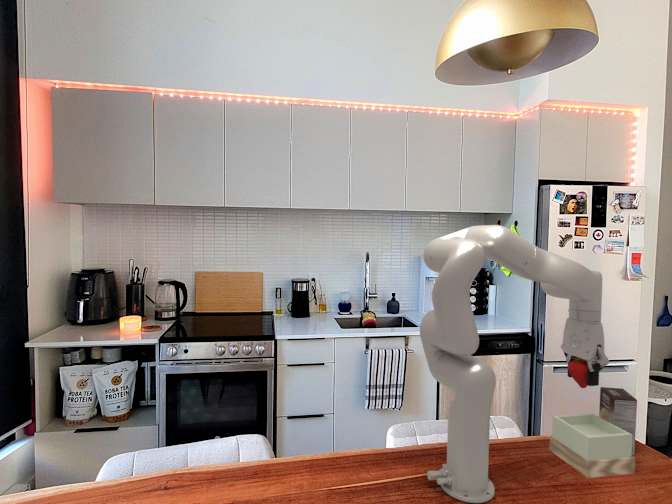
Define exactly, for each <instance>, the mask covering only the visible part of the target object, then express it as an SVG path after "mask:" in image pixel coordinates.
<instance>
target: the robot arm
mask: <svg viewBox="0 0 672 504" xmlns="http://www.w3.org/2000/svg"><path fill="white" fill-rule="evenodd" d="M422 258H423V262H424V264H425V266H426V267H427V268H428V269H429V270H431V271H432V272H435V273H439V274H438V275H437V277H436V279H435V281H434V283H433V286H432V290H431V302H432V308H433V309H432V310H429V311H427V312H426V313H425V314H424V315H423V317H422V319H421V322H420V325H419V336H420V340H421V345H422V348H423V352H424V355H425V356H424V357H425V358H426V362H427V367H428V369H429V371H430V374H431V376H432V377H433V379H434V380H435V381H437V382H438V383H440V384H441V385H443V386H445V387H446V388H448V389H450V390H451V391H453V392H454V397H453V400H451V402H450V405H449V407H448V411H447V412H448V413H447V415H448V416H447V442H446V443H447V445H446V463H442V468H439V470H428V471H427V473H426V474H427V475H426V476H427V479H428V481H434V480H436V483H437V485H440V487H441V489H442V490H443V491H444V493H446V494H447V495H449V496H450V497H451V498H454V499H456V500H458V501H461V502H465V503H471V504H482V503H486V502H488V501H490V500H492V499H493V498H494V497H495V491H496V490H495V485H494V483H493V482H492V480H491V479H490V478H489V452H490V451H489V450H490V449H489V448H490V425H491V424H490V422H491V410H492V409H491V408H492V402H493V398H494V393H495V389H496V385H497V378H496V374H495V371H494V369H493V368H492V367H491V366H490V365H489V364H488V363H487V362H485V361H484V360H482V359H481V358H478V357H476V356H473V354H475V353H476V352H477V350H478V349H479V346H480V337H479V331H478V327H477V324H476V320H475V315H474V311H473V308H472V302H471V296H470V294H471V293H470V292H471V287H472V284H473V282H474V280H475V278H476V277H477V276H478V274H479V272H480V271H481V269H482V267H483V265H484V263H485V260H486V259H487V260H490V261H492V262H494V263H496V264H498V265H499V266H501V267H503V268H504V269H506V270H508V271H510V272H512V273H513V274H515V275H517V276H518V277H521V278H522V279H526V280H529V281H532V282H537V283H540V287H541V289H542V291H543V293H545V294H546V295H548V296H551V297H553V298H558V299H565V300H566V299H567V300H568V311H567V312H568V317H566V320H565V322H564V324H565V325H564V328H563V329H564V330H563V335H562V344H561V345H560V348H561V350H562V352H563V354H564V356H565V359H566V360H565V361H566V362H567V366H568V365H569V363H570V362H571V361H573V360H575V359H573V358H580V359H583V360H586V361H587V363H588V367H589V370H590V371H587V385H588V386H587V387H594V386H595V387H596V386H599V383H600V381H599V380H600V372H601V371H602V370H603V369H604V368H605V367H606V366H607V365H609V364H610V359H609V358H608V356H607V355H606V353H605V335H604V334H605V332H604V326H603V323H602V301H603V300H602V299H603V298H602V297H603V275H602V273H601V272H600V271H598V270H597V271H596V270H591V269H589V268H588V267H586V266H585V265H583V264H582V263H580V262H577V261H575V260H572V259H570V258H567V257H564V256H562V255H559V254H557V253H553V252H552V251H548V250H545V249H542V248H540V247H539V246H537V245H535V244H533V243H532V242H530V241H529V240H527V239H525V238H523V237H522V236H520V235H519V234H517V233H516V232H514V231H512V230H511V229H510V228H507V227H506V226H503V225H499V224H487V225H486V224H485V225H481V224H480V225H473V226H472V225H471V226H469V227H465V228H463V229H460V230H457V231H455V232H451V233H449V234H446V235H443V236H440V237H437V238H434V239H432V241H430V242H428V244H427V245H426V246H425V248H424V249H423V257H422ZM593 362H594V363H595V365H594V366H593ZM567 377H568V378H573V377H572V376H571V375H570V373H569V369H568V368H567Z"/></svg>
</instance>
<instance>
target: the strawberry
mask: <svg viewBox="0 0 672 504" xmlns="http://www.w3.org/2000/svg"><path fill="white" fill-rule="evenodd" d="M573 359H575V360H573V361H571V362H570V363H569V365H568V364H567V370H568V369H569V373H570V375H571V376H572V377H571V378H572V379H573V381H575V383H576V384H577V385H578V386H579V387H580V388H582V389H585V388H587V387H589V386H588V385H587V371H590V370H589V367H588V363H587V361H586V360H583V359H580V358H573ZM592 362H593V366H594V365H595V362H594V361H592Z"/></svg>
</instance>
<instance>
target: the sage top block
mask: <svg viewBox="0 0 672 504" xmlns="http://www.w3.org/2000/svg"><path fill="white" fill-rule="evenodd" d="M551 428H552V430H551V434H552V435H551V436H552V437H553V438H555V439H556V440H558V441H559V442H561V443H562V444H564V445H565V446H567V447H568V448H570V449H571V450H572V451H574V452H575V453H577V454H578V455H580V456H581V457H583V458H584V459H586V460H587V461H594V460H605V459H617V458H629V457H631V456H632V455H631V453H632V434H630V433H628V432H627V431H625V430H623V429H621V428H619V427H617V426H615V425H613V424H611V423H610V422H608V421H606V420H604V419H602V418H600V417H599V415H596V414H595V413H593V412H592V413H578V414H562V415H561V414H560V415H552V427H551Z"/></svg>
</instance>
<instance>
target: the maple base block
mask: <svg viewBox="0 0 672 504" xmlns="http://www.w3.org/2000/svg"><path fill="white" fill-rule="evenodd" d="M548 449H549V451H550V452H552V453H553V454H554V455H556V456H557V457H559V459H561V460H563V461H564V462H565V463H567V464H568V465H569V466H571V467H572V468H574V469H575V470H577V471H578V472H579V473H581V474H582V475H583V476H584V477H585V478H587V479H593V478H600V477H612V476H621V475H632V474H635V473H636V457H635V456H634V455H631V457H629V458H617V459H605V460H594V461H587V460H586V459H584V458H583V457H581V456H580V455H578V454H577V453H575V452H574V451H572V450H571V449H570V448H568V447H567V446H565V445H564V444H562V443H561V442H559V441H558V440H556V439H555V438H553V437H552V435H550V436H549V448H548Z"/></svg>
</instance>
